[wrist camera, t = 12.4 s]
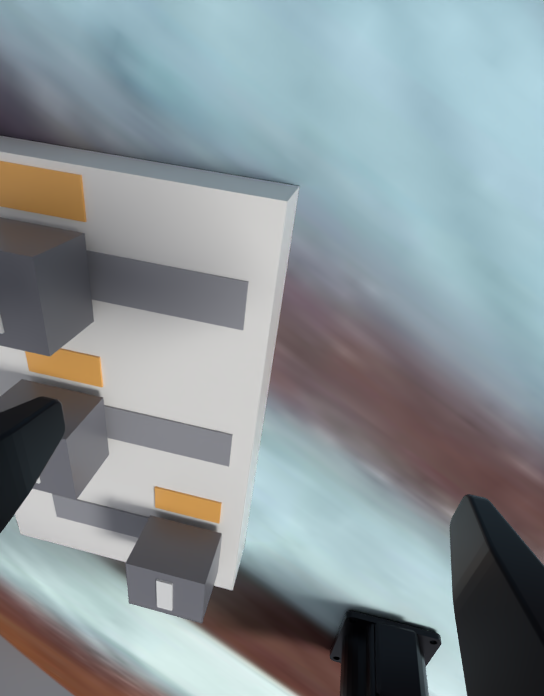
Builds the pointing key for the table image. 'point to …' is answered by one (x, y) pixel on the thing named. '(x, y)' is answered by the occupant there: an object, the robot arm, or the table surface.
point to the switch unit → (158, 338)
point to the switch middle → (68, 437)
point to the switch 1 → (42, 286)
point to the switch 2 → (173, 568)
